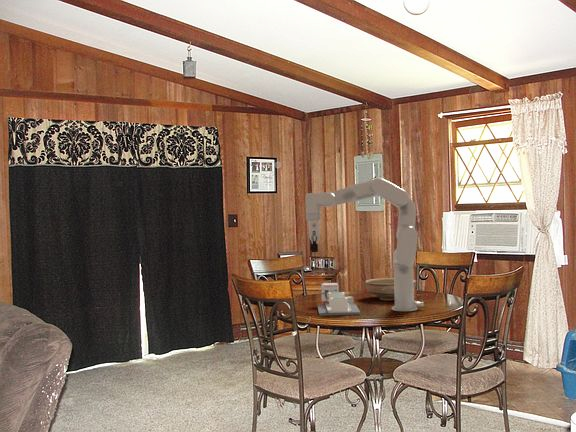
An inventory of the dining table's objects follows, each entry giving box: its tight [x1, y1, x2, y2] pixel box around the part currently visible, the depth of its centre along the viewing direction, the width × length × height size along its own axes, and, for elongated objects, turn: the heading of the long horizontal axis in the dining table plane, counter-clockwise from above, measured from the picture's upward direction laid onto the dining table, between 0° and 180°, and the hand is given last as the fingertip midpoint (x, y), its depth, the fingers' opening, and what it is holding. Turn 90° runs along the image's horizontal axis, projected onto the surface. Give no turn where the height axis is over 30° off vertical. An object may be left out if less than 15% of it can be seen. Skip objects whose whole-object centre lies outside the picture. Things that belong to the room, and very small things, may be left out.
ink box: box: [320, 282, 340, 305], centre depth 340 cm, size 9×5×12 cm, turn 99°
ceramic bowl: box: [364, 277, 417, 301], centre depth 359 cm, size 37×29×10 cm
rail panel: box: [317, 291, 361, 317], centre depth 322 cm, size 20×25×8 cm
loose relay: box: [346, 295, 355, 304], centre depth 343 cm, size 4×4×4 cm
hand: (314, 251), depth 322 cm, fingers open, 9 cm apart
